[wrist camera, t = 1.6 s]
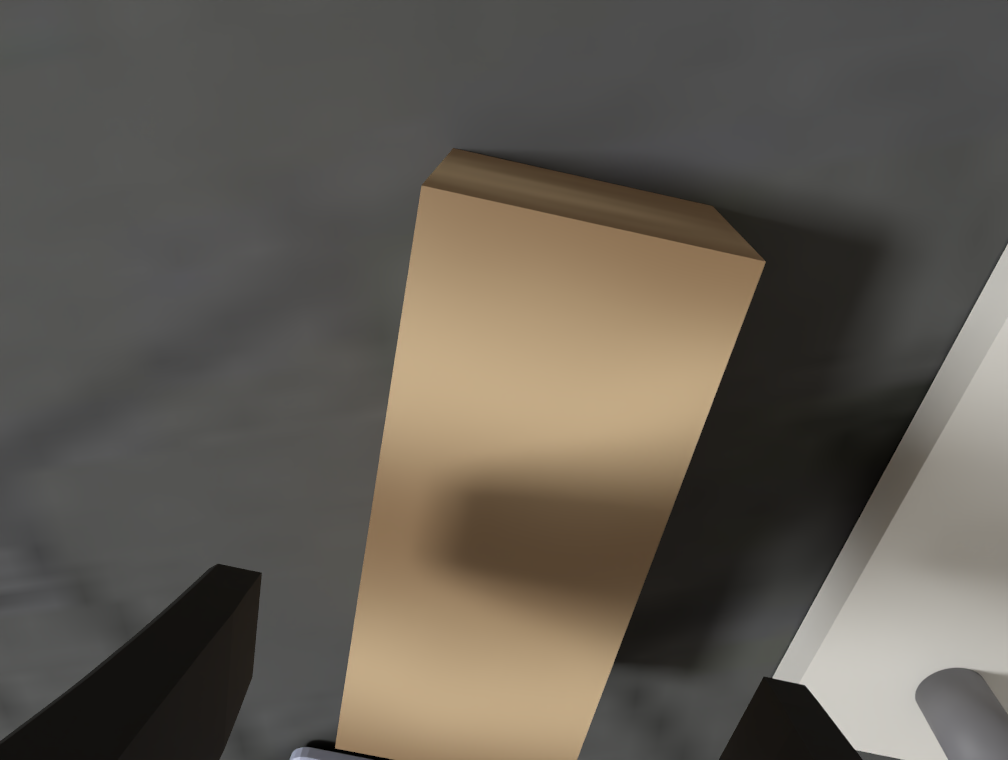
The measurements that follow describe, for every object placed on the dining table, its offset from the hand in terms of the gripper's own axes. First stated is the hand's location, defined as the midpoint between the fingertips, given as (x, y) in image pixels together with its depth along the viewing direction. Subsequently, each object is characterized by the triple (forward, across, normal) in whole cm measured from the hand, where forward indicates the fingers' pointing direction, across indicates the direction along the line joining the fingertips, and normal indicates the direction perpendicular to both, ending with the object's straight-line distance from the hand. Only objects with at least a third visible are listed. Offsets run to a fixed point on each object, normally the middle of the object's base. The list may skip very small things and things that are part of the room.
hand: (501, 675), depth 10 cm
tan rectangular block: (+7, 0, 0) cm, 7 cm away
